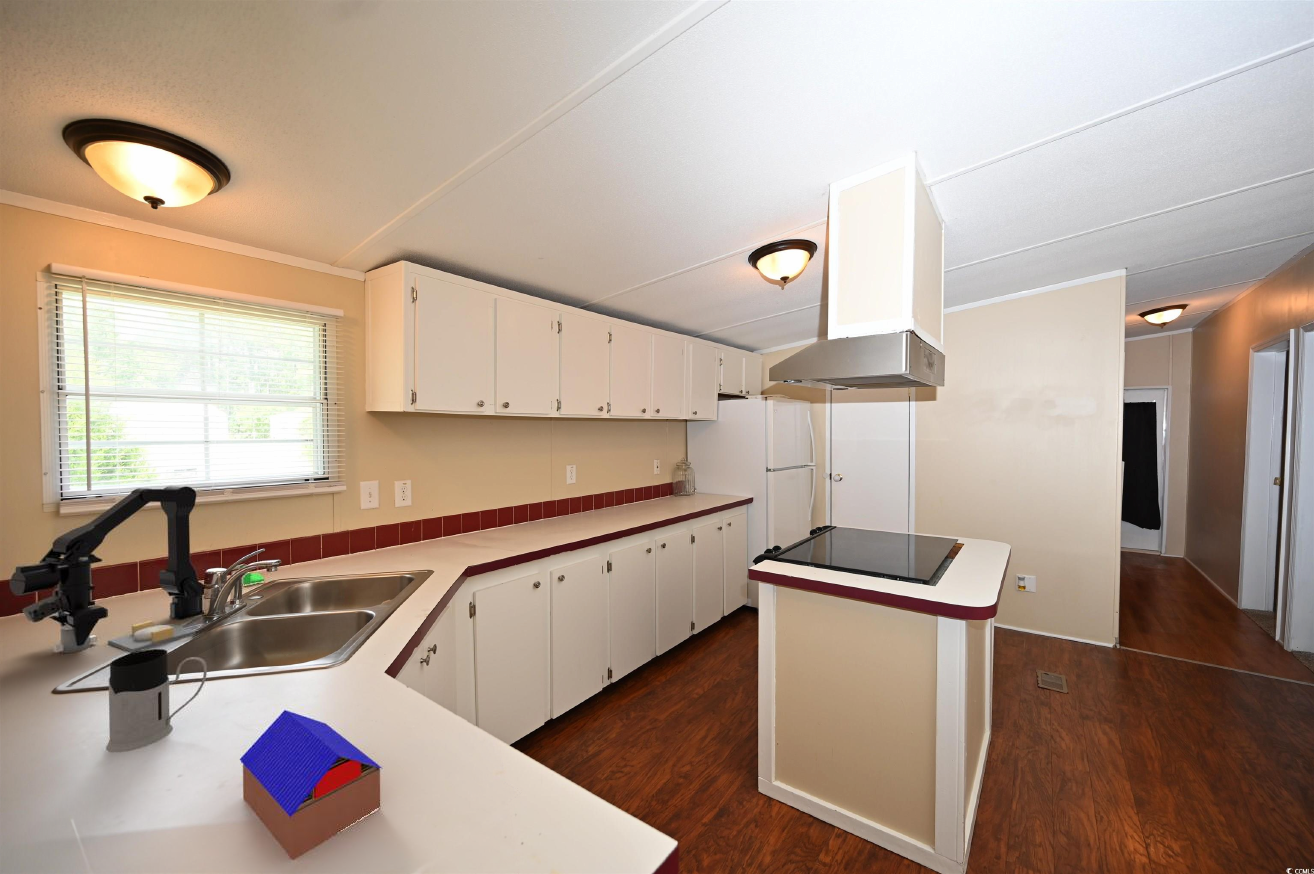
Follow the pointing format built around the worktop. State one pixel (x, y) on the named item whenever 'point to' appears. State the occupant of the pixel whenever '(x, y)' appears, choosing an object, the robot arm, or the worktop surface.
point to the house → (307, 782)
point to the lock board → (148, 643)
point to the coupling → (71, 641)
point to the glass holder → (141, 699)
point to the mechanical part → (252, 578)
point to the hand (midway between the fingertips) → (75, 643)
